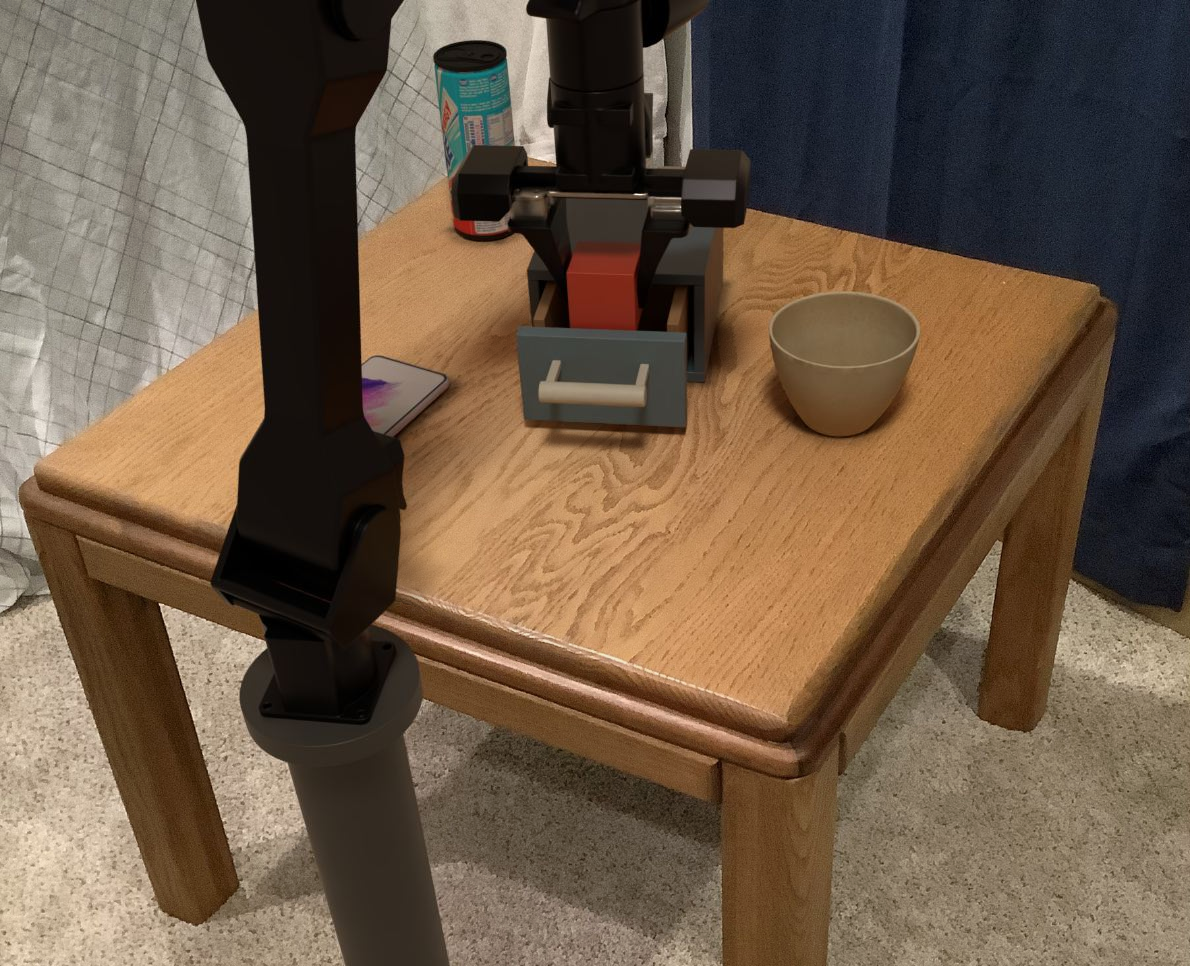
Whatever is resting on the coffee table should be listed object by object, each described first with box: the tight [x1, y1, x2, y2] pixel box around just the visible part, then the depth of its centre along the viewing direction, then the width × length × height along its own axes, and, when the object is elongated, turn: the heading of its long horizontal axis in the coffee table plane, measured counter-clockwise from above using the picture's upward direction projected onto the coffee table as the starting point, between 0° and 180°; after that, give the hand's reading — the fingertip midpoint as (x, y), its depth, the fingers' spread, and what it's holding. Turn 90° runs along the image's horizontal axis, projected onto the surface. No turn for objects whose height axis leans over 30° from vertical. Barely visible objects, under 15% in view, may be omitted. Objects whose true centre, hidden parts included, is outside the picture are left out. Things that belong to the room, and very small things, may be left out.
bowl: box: [768, 290, 921, 437], centre depth 98 cm, size 10×10×7 cm
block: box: [566, 241, 642, 331], centre depth 96 cm, size 4×4×4 cm
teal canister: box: [432, 39, 516, 242], centre depth 119 cm, size 6×6×15 cm
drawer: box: [515, 280, 694, 428], centre depth 100 cm, size 18×11×7 cm, turn 171°
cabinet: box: [526, 198, 725, 383], centre depth 107 cm, size 15×13×9 cm
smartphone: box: [362, 354, 451, 438], centre depth 102 cm, size 7×1×15 cm
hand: (607, 304), depth 97 cm, fingers closed on block, 4 cm apart
